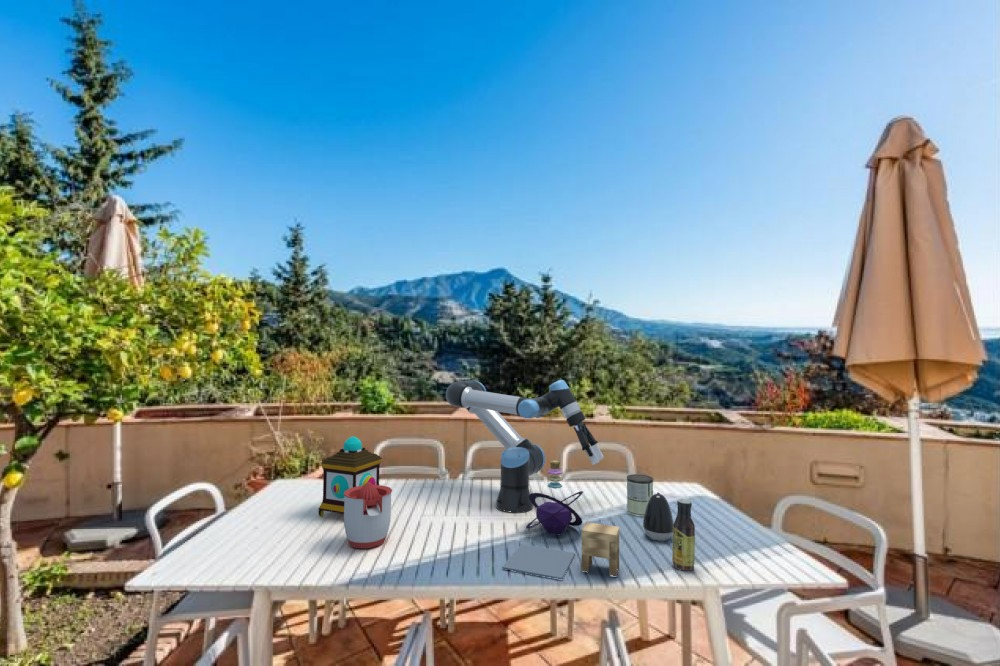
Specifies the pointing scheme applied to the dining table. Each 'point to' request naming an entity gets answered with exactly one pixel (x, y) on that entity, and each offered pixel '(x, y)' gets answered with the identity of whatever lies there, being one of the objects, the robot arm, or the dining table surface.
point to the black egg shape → (658, 518)
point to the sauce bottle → (683, 537)
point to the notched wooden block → (600, 545)
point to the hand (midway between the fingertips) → (598, 461)
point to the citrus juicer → (367, 515)
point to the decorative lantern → (347, 474)
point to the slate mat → (540, 561)
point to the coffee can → (638, 493)
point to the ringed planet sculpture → (554, 507)
